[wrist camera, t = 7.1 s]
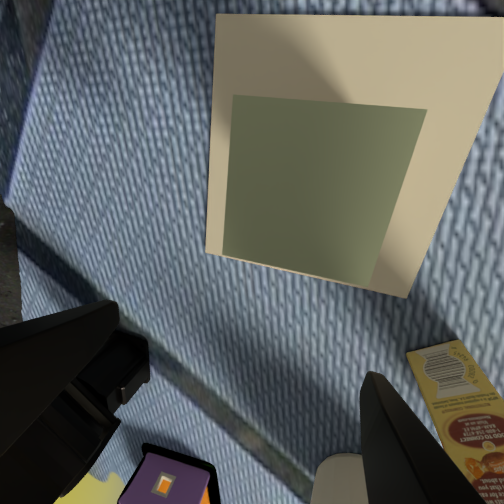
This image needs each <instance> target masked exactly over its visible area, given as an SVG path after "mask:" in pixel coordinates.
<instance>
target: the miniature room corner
mask: <svg viewBox="0 0 504 504" xmlns="http://www.w3.org/2000/svg"><path fill="white" fill-rule="evenodd" d="M142 452H143V456H144V457H143V459H142V460H141V462H140V463H139V465H138V467H137V468H136V470H135V472H134V473H133V475H132V476H131V478H130V480H129V481H128V483H127V485H126V486H125V488H124V490H123V491H122V493H121V495H120V497H119V499H118V501H117V504H221V502H220V494H219V486H218V479H217V473H216V469H215V467H214V466H213V465H212V464H210V463H208V462H205V461H202V460H199V459H196V458H193V457H190V456H187V455H184V454H181V453H178V452H175V451H172V450H169V449H165V448H162V447H159V446H156V445H152V444H149V443H143V445H142Z"/></svg>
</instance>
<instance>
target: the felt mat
mask: <svg viewBox="0 0 504 504" xmlns="http://www.w3.org/2000/svg"><path fill="white" fill-rule="evenodd" d="M503 71H504V17H445V16H361V15H276V14H216V27H215V49H214V72H213V94H212V116H211V139H210V161H209V183H208V206H207V228H206V251H205V253H210V254H214V255H218V256H223V257H227V258H231V259H236V260H240V261H245V262H249V263H253V264H258V265H262V266H266V267H271V268H275V269H279V270H284V271H288V272H292V273H297V274H301V275H306V276H310V277H314V278H319V279H323V280H327V281H332V282H336V283H340V284H345V285H349V286H354V287H358V288H362V289H367V290H371V291H375V292H380V293H384V294H388V295H393V296H397V297H401V298H406V299H407V296H408V294H409V292H410V289H411V287H412V285H413V282H414V280H415V278H416V275H417V273H418V271H419V268H420V266H421V264H422V261H423V259H424V257H425V254H426V252H427V250H428V247H429V245H430V242H431V240H432V238H433V235H434V233H435V231H436V228H437V226H438V224H439V221H440V219H441V217H442V214H443V212H444V210H445V207H446V205H447V203H448V200H449V198H450V196H451V193H452V191H453V188H454V186H455V184H456V181H457V179H458V177H459V174H460V172H461V170H462V167H463V165H464V163H465V160H466V158H467V156H468V153H469V151H470V149H471V146H472V144H473V142H474V139H475V137H476V134H477V132H478V130H479V127H480V125H481V123H482V120H483V118H484V116H485V113H486V111H487V109H488V106H489V104H490V102H491V99H492V97H493V95H494V92H495V90H496V88H497V85H498V83H499V80H500V78H501V76H502V73H503ZM233 95H246V96H259V97H273V98H286V99H299V100H312V101H325V102H338V103H352V104H365V105H378V106H391V107H404V108H417V109H428V110H427V113H426V116H425V119H424V122H423V125H422V128H421V131H420V134H419V137H418V140H417V143H416V146H415V149H414V152H413V155H412V158H411V161H410V164H409V167H408V169H407V172H406V175H405V178H404V181H403V184H402V187H401V190H400V193H399V196H398V199H397V202H396V205H395V208H394V211H393V214H392V217H391V220H390V223H389V226H388V229H387V232H386V235H385V238H384V241H383V243H382V246H381V249H380V252H379V255H378V258H377V261H376V264H375V267H374V270H373V273H372V276H371V279H370V282H369V285H368V287H365V286H360V285H356V284H351V283H347V282H342V281H338V280H333V279H329V278H324V277H320V276H315V275H311V274H306V273H302V272H297V271H293V270H288V269H284V268H279V267H275V266H270V265H266V264H261V263H257V262H252V261H248V260H243V259H239V258H234V257H230V256H225V255H222V249H223V234H224V220H225V205H226V190H227V175H228V161H229V146H230V131H231V116H232V102H233Z"/></svg>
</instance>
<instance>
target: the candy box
mask: <svg viewBox="0 0 504 504" xmlns="http://www.w3.org/2000/svg"><path fill="white" fill-rule="evenodd" d="M406 356H407V358H408V361H409V363H410V366H411V368H412V371H413V373H414V376H415V378H416V381H417V383H418V386H419V388H420V391H421V393H422V396H423V398H424V401H425V403H426V406H427V408H428V411H429V413H430V416H431V418H432V421H433V423H434V426H435V428H436V431H437V433H438V436H439V438H440V441H441V443H442V446H443V448H444V451H445V452H446V453H447V454H448V456H449V457H450V458H451V459H452V460H453V462H454V463H455V464H456V465H457V467H458V468H459V469H460V470H461V472H462V473H463V474H464V475H465V477H466V478H467V479H468V480H469V482H470V483H471V484H472V485H473V487H474V488H475V489H476V490H477V491H478V493H479V494H480V495H481V496H482V498H483V499H484V500H485V501H486V503H487V504H504V400H503V399H502V397H501V396H500V395H499V393H498V392H497V391H496V389H495V388H494V387H493V385H492V384H491V382H490V381H489V380H488V378H487V377H486V376H485V374H484V373H483V371H482V370H481V369H480V367H479V366H478V364H477V363H476V362H475V360H474V359H473V357H472V356H471V355H470V353H469V352H468V351H467V349H466V348H465V346H464V345H463V343H462V342H461V340H459V339H458V340H454V341H450V342H446V343H442V344H438V345H434V346H431V347H427V348H423V349H419V350H415V351H411V352H407V353H406Z"/></svg>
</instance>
